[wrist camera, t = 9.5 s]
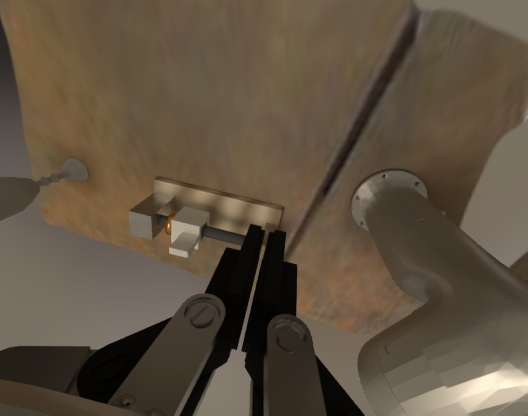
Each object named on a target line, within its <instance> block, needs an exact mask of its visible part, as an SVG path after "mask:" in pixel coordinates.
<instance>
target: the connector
mask: <svg viewBox="0 0 528 416" xmlns="http://www.w3.org/2000/svg"><path fill="white" fill-rule="evenodd" d="M177 214H178V212H177V211H175V196H174V195H170V194H166V193H162V192H158V191H156V192H155V193H153V194H152V195H150V196H149V197H148V198H146V199H145V200H143V201H142V202H140V203H139V204H138V205H136V206H135V207H133V208H132V209H131V210H129V220H130V229H131V235H134V236H138V237H142V238H146V239H150V240H153V239H154V238H155V237H156V236H157V235H158V234H159V233H160V232H161V231H162V230H163V229H164V228H165V232H166V233H167V234H169V235H171V220H172V219H173V218H174V217H175V216H176V215H177ZM161 215H166V216H168V218H167V221H166V225H165V226H161V225H158V220H159V217H160V216H161Z"/></svg>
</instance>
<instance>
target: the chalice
mask: <svg viewBox="0 0 528 416" xmlns="http://www.w3.org/2000/svg"><path fill="white" fill-rule="evenodd" d="M61 178H65V179H67V180H70V181H85V180H86V179H87V178H88V171H87V169H86V167H85V166H84V164H83V163H82V162H80V161H79V160H77V159H74V158H69V159H67V161H66V162H64V164H63V165H62V166H61V168H60V173H59V174H54V173H52V174H51V176H50V177H47V178H45V177H42V178H41V179H40V180H39V181H36V182H35V181H33V180H32V179H29V178H17V177H0V221H1V220H3V219H6V218H8V217H10V216H12V215H15V214H17V213H19V212H21V211H23V210H24V209H25V208H26V207H27V206H28V205H29V204H30V203H31V202H32V201H33V200H34V199H35V197H36V196H37V195H38V193H39V192H40V188H39V187H40V186H43V185H49V184H50V183H51V182H59V180H60V179H61Z"/></svg>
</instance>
